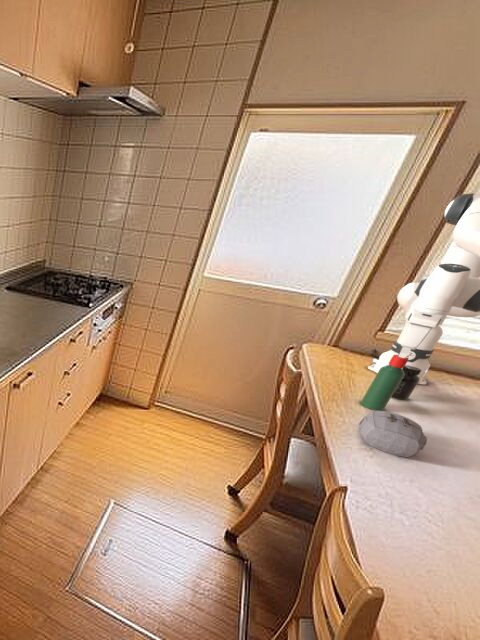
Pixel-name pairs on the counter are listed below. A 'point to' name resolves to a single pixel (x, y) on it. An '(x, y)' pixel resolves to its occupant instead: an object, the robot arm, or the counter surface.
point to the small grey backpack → (392, 433)
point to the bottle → (383, 387)
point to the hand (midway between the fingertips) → (402, 355)
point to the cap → (398, 361)
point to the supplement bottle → (407, 383)
